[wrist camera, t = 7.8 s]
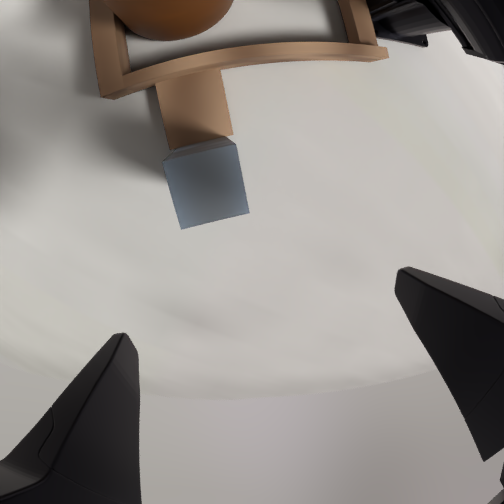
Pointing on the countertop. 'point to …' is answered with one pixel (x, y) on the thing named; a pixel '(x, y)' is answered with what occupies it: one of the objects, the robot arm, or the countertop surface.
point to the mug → (169, 16)
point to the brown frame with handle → (210, 103)
